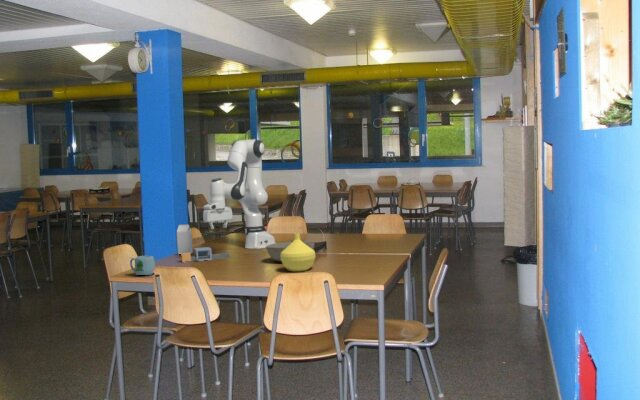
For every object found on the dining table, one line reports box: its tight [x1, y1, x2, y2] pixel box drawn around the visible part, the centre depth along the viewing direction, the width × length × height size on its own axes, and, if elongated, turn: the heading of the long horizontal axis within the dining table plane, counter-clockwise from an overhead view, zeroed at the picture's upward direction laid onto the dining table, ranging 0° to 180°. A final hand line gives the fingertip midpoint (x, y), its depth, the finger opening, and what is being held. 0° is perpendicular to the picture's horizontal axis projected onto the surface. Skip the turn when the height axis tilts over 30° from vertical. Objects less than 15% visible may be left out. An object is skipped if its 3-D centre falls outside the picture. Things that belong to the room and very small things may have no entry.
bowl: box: [265, 241, 315, 263], centre depth 383 cm, size 28×28×10 cm
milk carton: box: [176, 224, 194, 256], centre depth 431 cm, size 7×7×19 cm
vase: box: [280, 232, 316, 273], centre depth 350 cm, size 18×18×19 cm
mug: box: [129, 254, 156, 276], centre depth 361 cm, size 15×11×10 cm
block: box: [180, 253, 192, 263], centre depth 400 cm, size 5×5×5 cm
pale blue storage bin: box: [193, 246, 213, 262], centre depth 403 cm, size 9×9×7 cm
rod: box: [191, 252, 230, 262], centre depth 404 cm, size 23×3×3 cm, turn 106°
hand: (218, 228), depth 404 cm, fingers open, 8 cm apart
